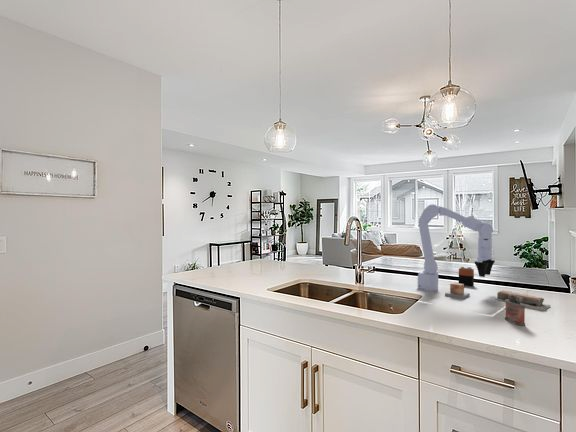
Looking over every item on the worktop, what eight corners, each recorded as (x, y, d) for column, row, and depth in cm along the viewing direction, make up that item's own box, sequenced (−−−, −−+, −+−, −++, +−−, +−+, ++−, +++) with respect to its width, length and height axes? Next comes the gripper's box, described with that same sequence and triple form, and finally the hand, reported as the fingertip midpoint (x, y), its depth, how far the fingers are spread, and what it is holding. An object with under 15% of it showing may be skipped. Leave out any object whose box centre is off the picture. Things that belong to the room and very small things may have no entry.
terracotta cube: (450, 293, 157) (450, 283, 157) (454, 291, 160) (454, 282, 160) (459, 294, 154) (459, 285, 154) (463, 293, 157) (463, 284, 157)
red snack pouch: (502, 318, 126) (502, 292, 126) (510, 318, 126) (511, 292, 126) (518, 326, 118) (519, 298, 118) (527, 326, 118) (528, 298, 118)
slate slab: (444, 296, 157) (444, 293, 157) (452, 293, 163) (452, 290, 163) (462, 299, 151) (462, 296, 151) (469, 296, 157) (469, 293, 157)
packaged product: (494, 291, 151) (504, 288, 156) (494, 302, 151) (503, 299, 156) (542, 300, 136) (550, 296, 142) (541, 312, 136) (550, 308, 142)
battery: (472, 286, 179) (472, 268, 179) (458, 285, 184) (458, 267, 183) (473, 285, 183) (474, 267, 182) (460, 283, 187) (460, 266, 187)
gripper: (489, 249, 154) (488, 278, 154) (498, 247, 164) (498, 274, 164) (472, 248, 159) (472, 276, 159) (483, 246, 169) (482, 272, 169)
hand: (484, 275), depth 162 cm, fingers open, 7 cm apart
